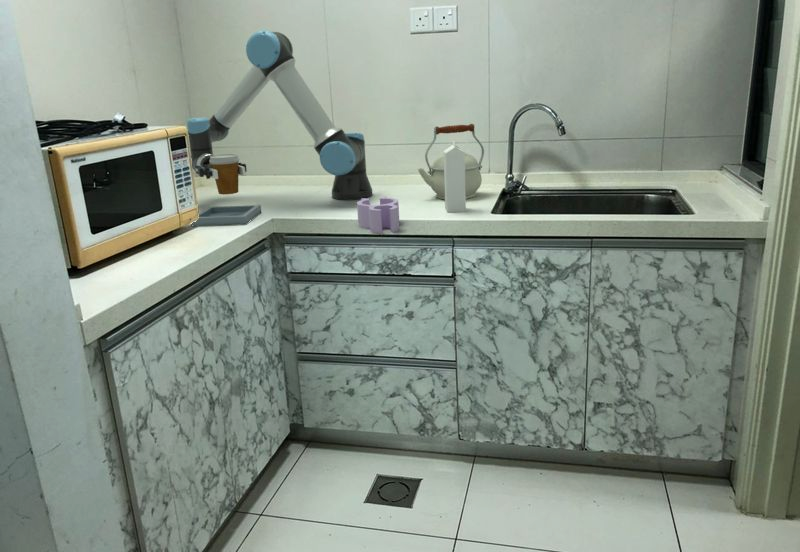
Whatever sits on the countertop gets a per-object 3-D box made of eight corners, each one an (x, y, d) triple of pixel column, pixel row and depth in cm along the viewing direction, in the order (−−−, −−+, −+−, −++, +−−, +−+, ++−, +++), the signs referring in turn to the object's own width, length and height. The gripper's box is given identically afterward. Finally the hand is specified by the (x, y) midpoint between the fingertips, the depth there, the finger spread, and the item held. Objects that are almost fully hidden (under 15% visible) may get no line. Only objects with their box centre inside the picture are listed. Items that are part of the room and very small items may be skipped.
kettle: (473, 189, 246) (472, 121, 239) (495, 197, 230) (494, 124, 222) (410, 196, 239) (407, 126, 232) (428, 205, 223) (425, 130, 215)
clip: (408, 231, 189) (407, 207, 187) (365, 235, 187) (364, 211, 185) (394, 217, 208) (392, 195, 206) (355, 221, 206) (353, 199, 204)
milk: (463, 208, 216) (462, 139, 209) (465, 211, 210) (465, 141, 203) (444, 208, 215) (443, 140, 209) (446, 212, 210) (445, 142, 203)
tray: (261, 212, 225) (260, 204, 224) (246, 224, 207) (245, 216, 207) (210, 214, 226) (209, 206, 225) (190, 226, 209) (189, 218, 208)
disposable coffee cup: (249, 191, 216) (245, 154, 213) (227, 196, 209) (223, 158, 205) (229, 189, 221) (224, 153, 218) (207, 194, 214) (202, 157, 210)
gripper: (241, 173, 234) (263, 180, 215) (181, 180, 224) (198, 188, 205) (238, 151, 231) (260, 157, 213) (178, 157, 221) (195, 164, 203)
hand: (230, 173), depth 209 cm, fingers closed on disposable coffee cup, 8 cm apart
